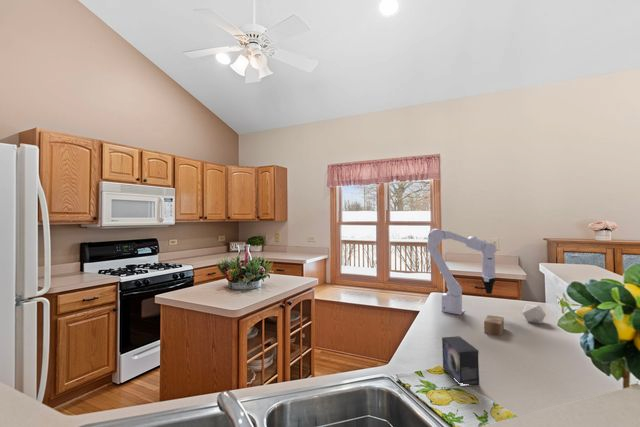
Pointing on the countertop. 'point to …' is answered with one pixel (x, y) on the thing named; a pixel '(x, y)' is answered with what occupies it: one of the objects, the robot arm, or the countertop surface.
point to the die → (533, 313)
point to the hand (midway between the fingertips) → (489, 293)
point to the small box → (460, 360)
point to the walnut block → (494, 325)
